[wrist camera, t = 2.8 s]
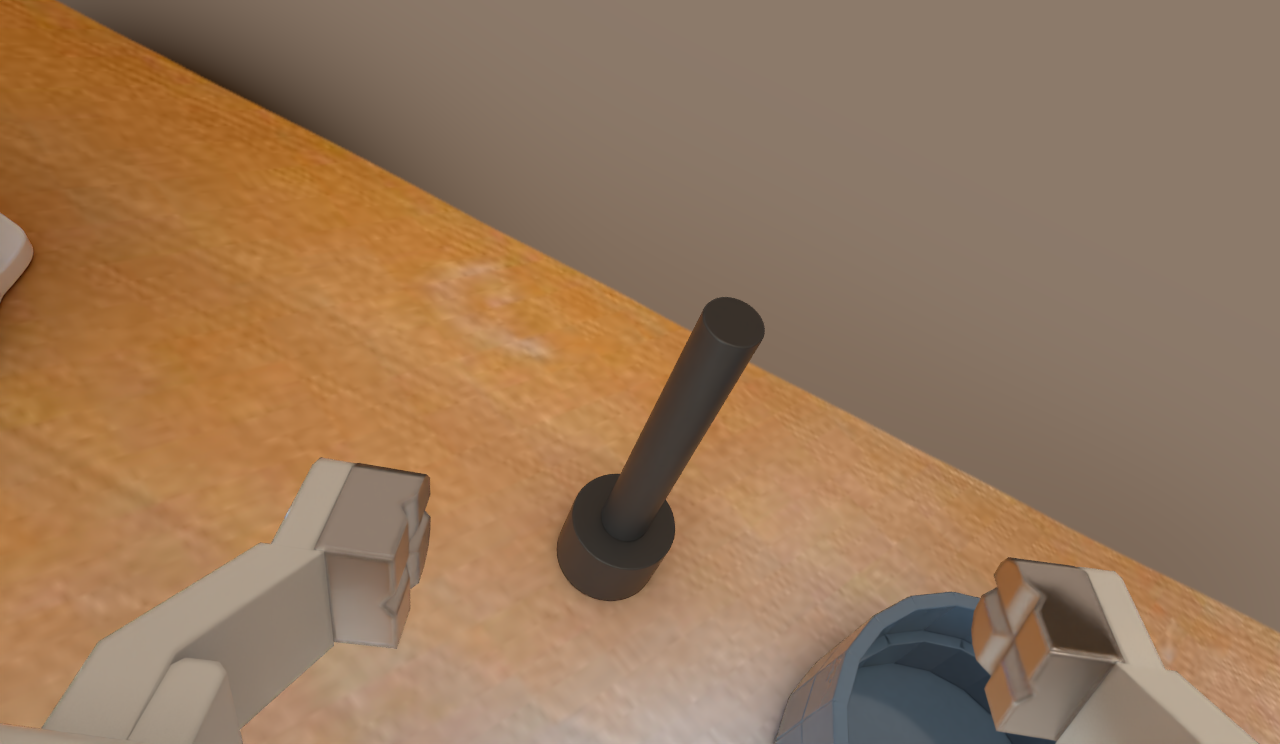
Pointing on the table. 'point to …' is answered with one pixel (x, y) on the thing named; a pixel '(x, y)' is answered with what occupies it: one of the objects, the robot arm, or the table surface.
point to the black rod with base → (656, 461)
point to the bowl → (900, 682)
